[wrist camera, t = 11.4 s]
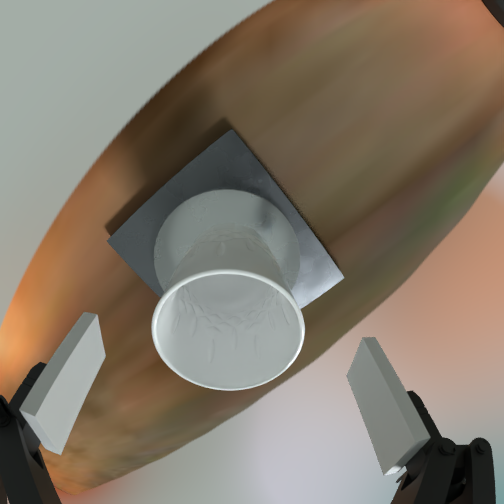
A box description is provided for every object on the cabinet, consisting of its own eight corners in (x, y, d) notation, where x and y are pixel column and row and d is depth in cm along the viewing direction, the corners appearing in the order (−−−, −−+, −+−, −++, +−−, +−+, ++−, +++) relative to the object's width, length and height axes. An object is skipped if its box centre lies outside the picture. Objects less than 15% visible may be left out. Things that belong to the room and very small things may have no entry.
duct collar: (231, 129, 22) (231, 128, 20) (341, 273, 27) (347, 281, 25) (110, 237, 24) (103, 244, 23) (225, 351, 29) (225, 362, 28)
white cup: (166, 233, 23) (124, 296, 13) (262, 200, 22) (282, 246, 13) (202, 314, 26) (190, 401, 16) (289, 288, 25) (317, 369, 16)
